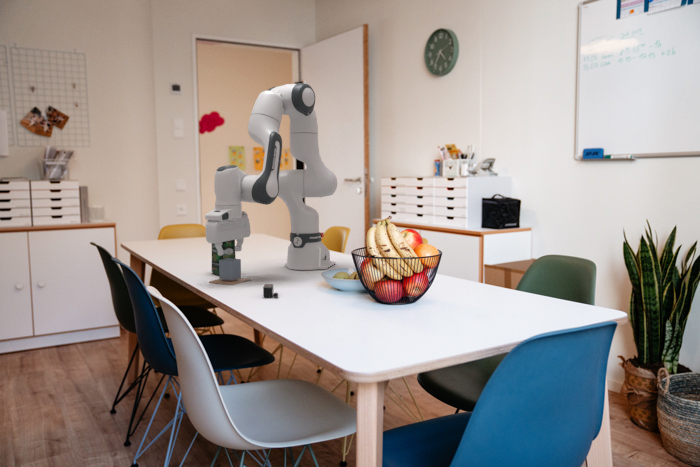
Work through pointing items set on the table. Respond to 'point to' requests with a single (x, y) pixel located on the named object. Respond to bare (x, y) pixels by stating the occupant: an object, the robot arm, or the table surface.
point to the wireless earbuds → (269, 291)
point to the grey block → (230, 269)
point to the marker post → (230, 281)
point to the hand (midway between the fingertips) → (229, 253)
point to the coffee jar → (229, 252)
